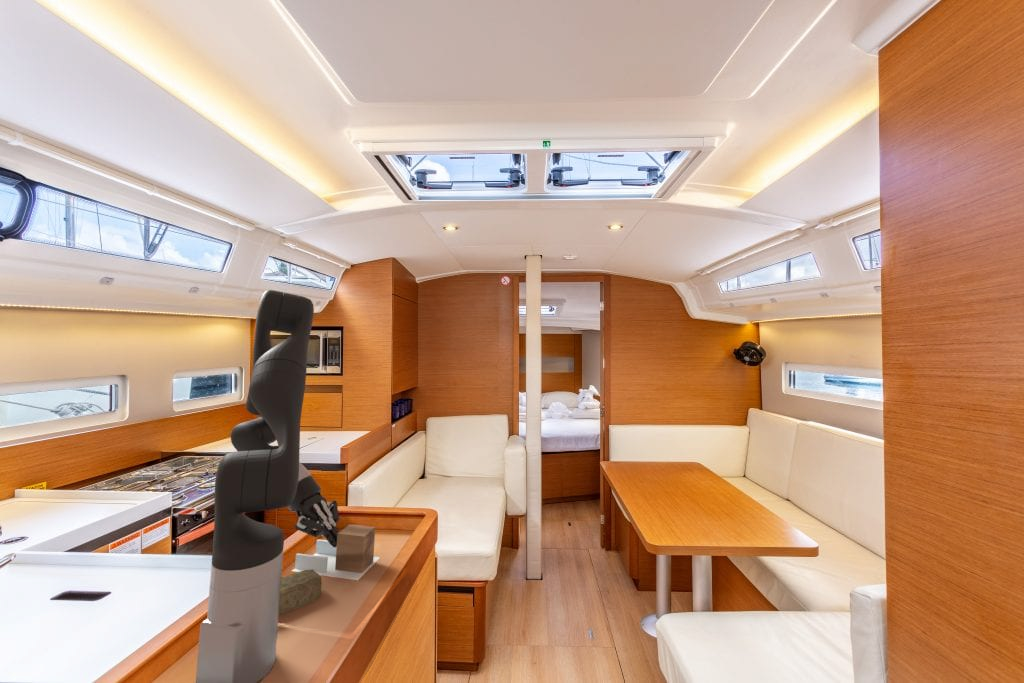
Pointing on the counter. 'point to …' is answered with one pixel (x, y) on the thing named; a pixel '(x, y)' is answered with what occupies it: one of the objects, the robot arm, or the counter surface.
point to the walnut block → (355, 548)
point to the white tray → (325, 562)
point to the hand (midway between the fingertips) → (339, 543)
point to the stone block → (299, 590)
